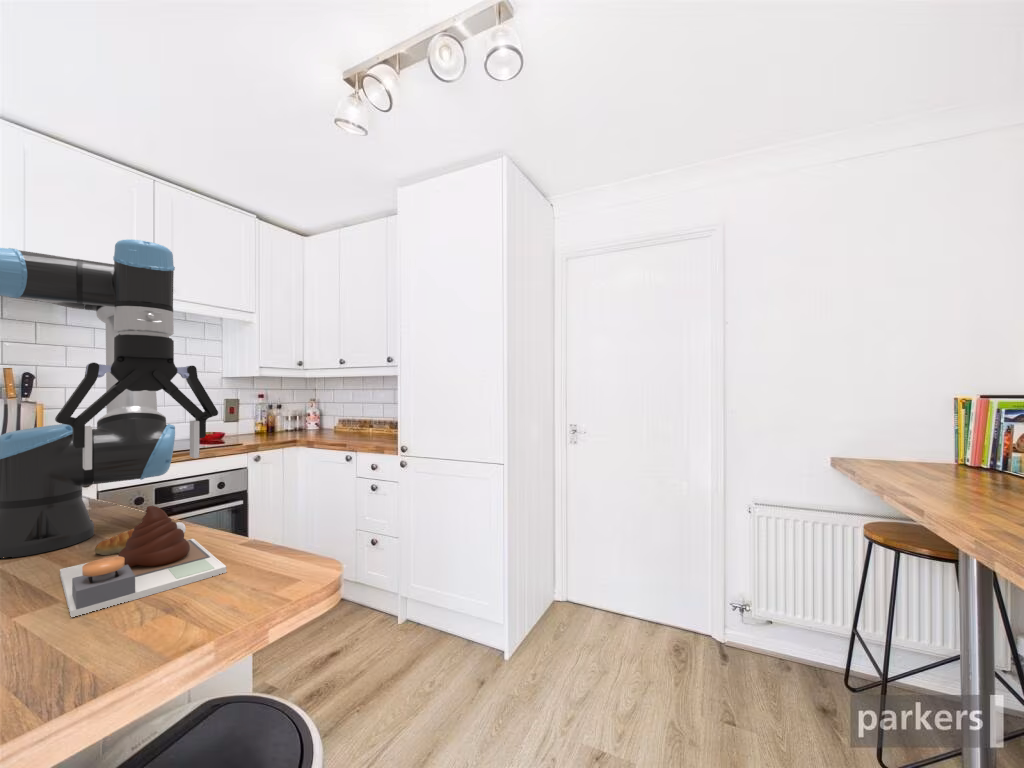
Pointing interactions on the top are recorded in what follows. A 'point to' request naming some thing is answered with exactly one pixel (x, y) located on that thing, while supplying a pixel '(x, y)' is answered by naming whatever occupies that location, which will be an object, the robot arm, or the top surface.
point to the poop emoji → (155, 541)
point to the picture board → (136, 580)
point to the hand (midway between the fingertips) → (145, 462)
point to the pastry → (113, 544)
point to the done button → (103, 568)
